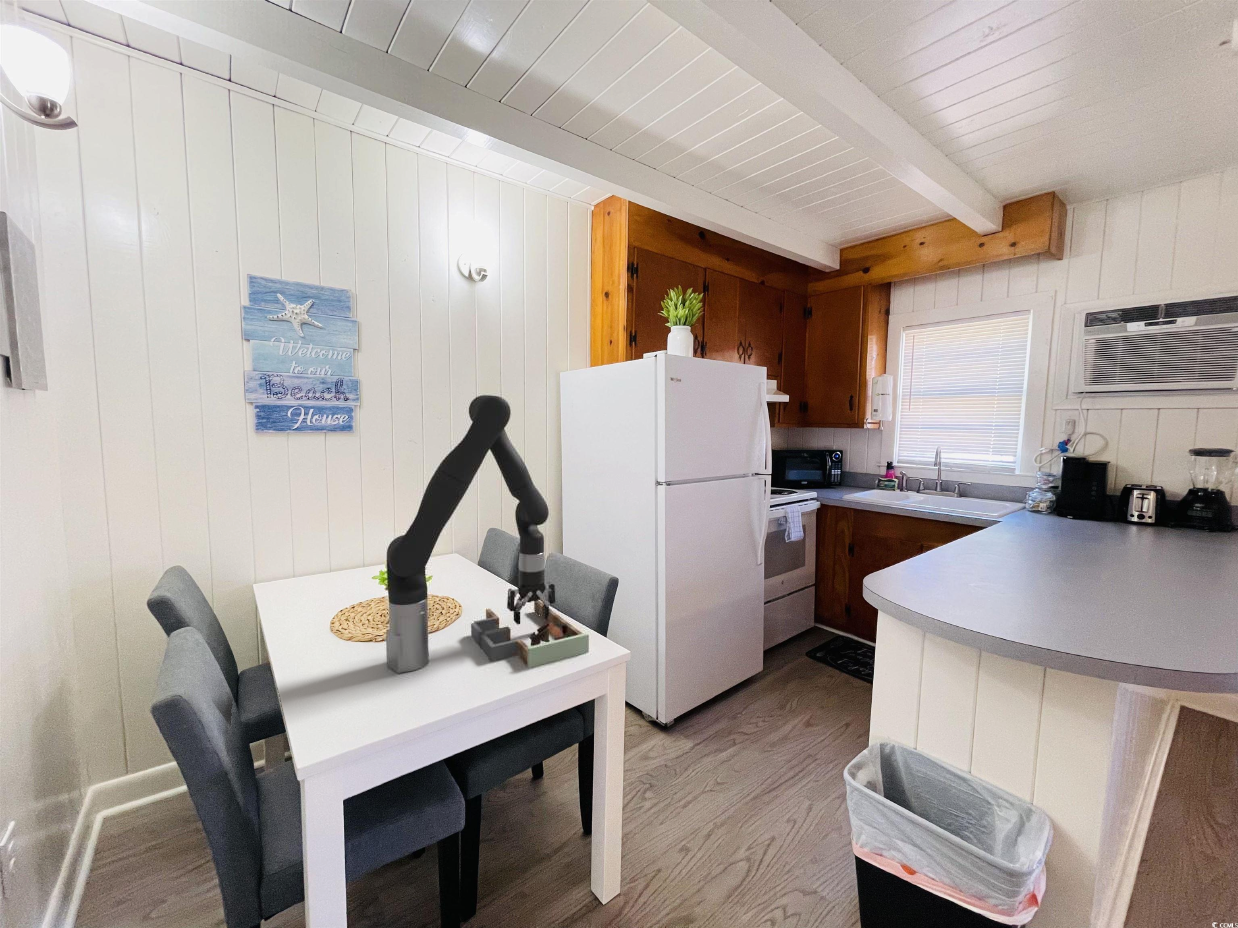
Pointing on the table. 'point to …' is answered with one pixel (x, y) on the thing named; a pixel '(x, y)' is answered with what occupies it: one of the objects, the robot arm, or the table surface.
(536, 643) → the brown black figurine
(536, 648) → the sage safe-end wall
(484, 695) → the table surface
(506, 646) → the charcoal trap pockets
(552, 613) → the walnut track
